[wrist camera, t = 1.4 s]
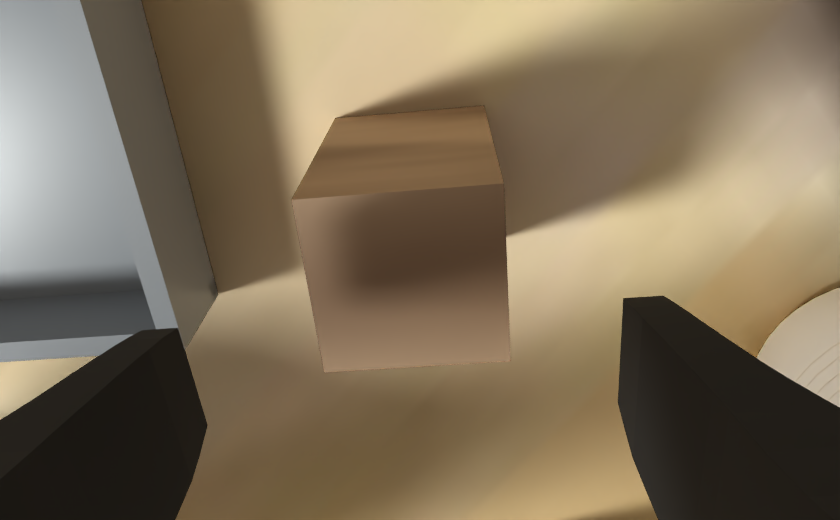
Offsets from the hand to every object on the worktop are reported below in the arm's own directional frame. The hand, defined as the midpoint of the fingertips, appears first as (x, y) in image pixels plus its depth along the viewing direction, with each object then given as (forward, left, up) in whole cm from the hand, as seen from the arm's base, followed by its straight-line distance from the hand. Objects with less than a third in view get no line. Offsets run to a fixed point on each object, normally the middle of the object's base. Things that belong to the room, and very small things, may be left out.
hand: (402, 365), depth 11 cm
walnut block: (0, 0, -9) cm, 9 cm away
